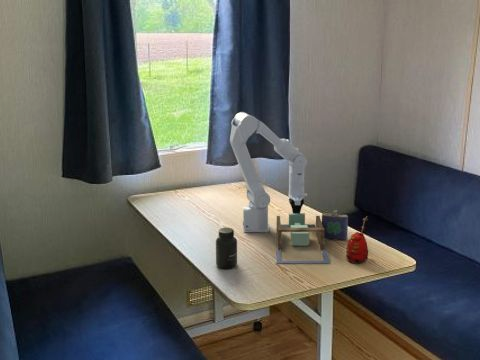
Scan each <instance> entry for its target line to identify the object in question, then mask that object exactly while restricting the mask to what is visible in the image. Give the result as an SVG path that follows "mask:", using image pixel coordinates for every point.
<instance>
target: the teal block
mask: <svg viewBox="0 0 480 360" xmlns="http://www.w3.org/2000/svg"><path fill="white" fill-rule="evenodd" d="M288 224H289V226H290V228H308V226H307V225H305V224H306V214H305V212H304V213H303V212H300V213H293V212H292V213H291V212H290V213H288ZM289 234H290V235H289V237H290V243H291V246H293V247H294V246H296V247H297V246H298V247H299V246H300V247H302V246H306V247H308V246H310V232H289Z"/></svg>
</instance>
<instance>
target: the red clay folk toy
mask: <svg viewBox="0 0 480 360" xmlns="http://www.w3.org/2000/svg"><path fill="white" fill-rule="evenodd" d="M367 219H368V216H366V217H364V218H362V221H363V223H362V226H361V231H360V232H359V231H355V232H354V233H353V234H351V236H350V239H347V246H346V253H345V254H346V257H345V258H346V260H347V261H349V262H350V263H352V264H355V263H357V264H360V263H363V262H365V261H367V260H368V258H369V249H368V242H367V239H366V237H365V235H364V233H363V230H364V229H365V223H366V221H367Z"/></svg>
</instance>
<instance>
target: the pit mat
mask: <svg viewBox="0 0 480 360" xmlns="http://www.w3.org/2000/svg"><path fill="white" fill-rule="evenodd" d="M305 225H307V226H308V228H316V223H314V224H313V223H312V224H306V223H305ZM281 228H290V226H289V223H287V224H282V223H281Z"/></svg>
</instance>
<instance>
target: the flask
mask: <svg viewBox="0 0 480 360" xmlns="http://www.w3.org/2000/svg"><path fill="white" fill-rule="evenodd" d="M321 222H322V226H323V228H324V230H325V232H324V240H328V241H329V240H330V241H348V230H349V229H348V226H349V224H348V223H349V216H348V215H347V214H338V210H336V209H335V210H333V212H332V213H331V212H326V213H322V215H321Z"/></svg>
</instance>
